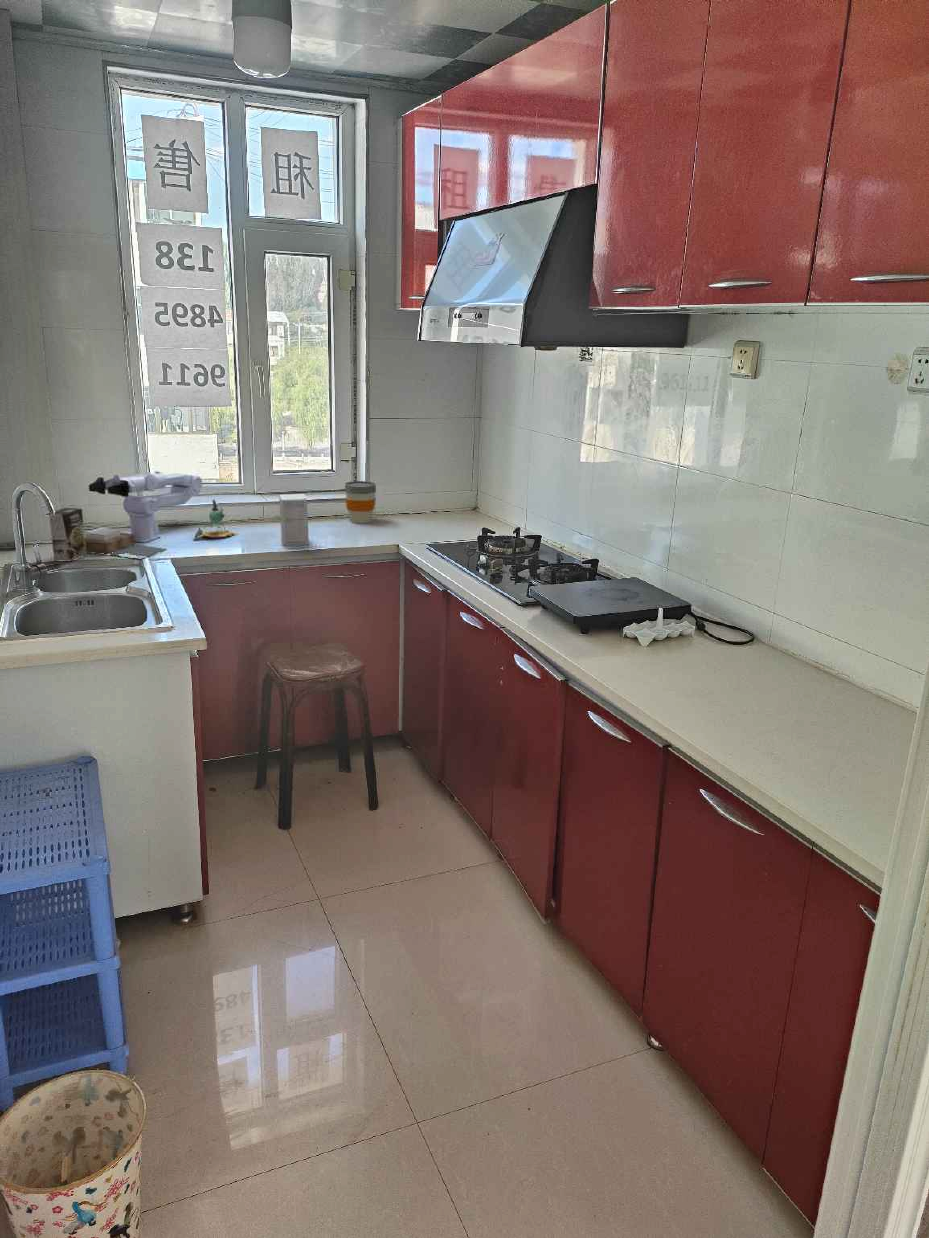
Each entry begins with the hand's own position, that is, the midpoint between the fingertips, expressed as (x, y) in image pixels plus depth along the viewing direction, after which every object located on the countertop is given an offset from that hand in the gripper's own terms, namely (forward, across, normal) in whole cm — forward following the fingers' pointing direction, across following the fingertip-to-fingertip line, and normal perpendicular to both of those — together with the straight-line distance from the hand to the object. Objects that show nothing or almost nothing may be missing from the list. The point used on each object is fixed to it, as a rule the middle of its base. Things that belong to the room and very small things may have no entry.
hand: (99, 489), depth 295 cm
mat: (-6, +10, +21) cm, 24 cm away
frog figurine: (-36, +20, +19) cm, 45 cm away
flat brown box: (-6, -3, +21) cm, 22 cm away
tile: (-5, -4, +17) cm, 19 cm away
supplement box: (-42, +50, +18) cm, 68 cm away
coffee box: (+9, -5, +23) cm, 25 cm away
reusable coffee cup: (-83, +57, +16) cm, 102 cm away
